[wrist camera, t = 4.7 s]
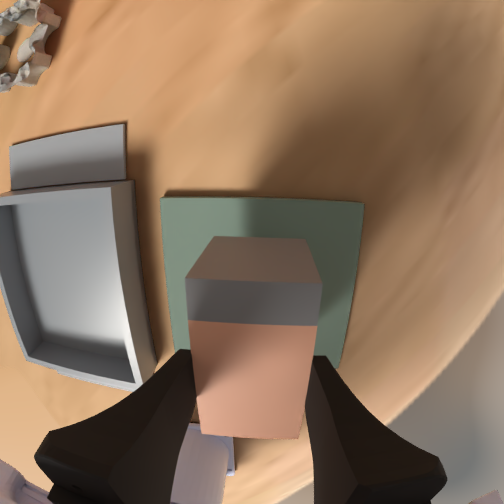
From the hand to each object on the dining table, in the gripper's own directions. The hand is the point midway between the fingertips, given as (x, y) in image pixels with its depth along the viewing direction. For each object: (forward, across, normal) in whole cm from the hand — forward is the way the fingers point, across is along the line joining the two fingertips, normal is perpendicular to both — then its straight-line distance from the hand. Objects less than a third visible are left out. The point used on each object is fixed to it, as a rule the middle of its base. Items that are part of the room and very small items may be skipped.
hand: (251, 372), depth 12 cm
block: (+5, 0, 0) cm, 5 cm away
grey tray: (+8, +14, 0) cm, 16 cm away
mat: (+8, 0, 0) cm, 9 cm away
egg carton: (+9, +20, -18) cm, 29 cm away
